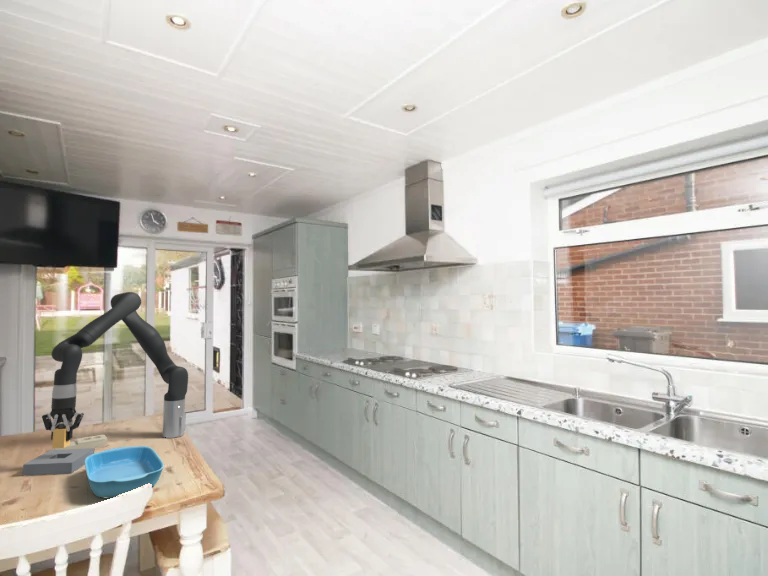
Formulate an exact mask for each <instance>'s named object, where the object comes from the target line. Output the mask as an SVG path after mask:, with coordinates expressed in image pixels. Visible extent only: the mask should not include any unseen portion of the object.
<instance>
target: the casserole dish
mask: <svg viewBox="0 0 768 576" xmlns="http://www.w3.org/2000/svg"><path fill="white" fill-rule="evenodd" d="M164 465H165V464H164V461H163V460H162V458H161V457H160V456H159V454H158V453H157V452H156V450H155V449H153V448H152V447H150V446H147V445H142V446H140V445H138V446H121V447H120V446H119V447H115V448H114V447H113V448H109V449H106V450H103V451H100V452H94V454H92V455H89V456H88V457H87V458H86V459H85V465H84V467H85V473H86V477H87V480H88V483H89V488H90V490H91V491H92V493H93V494H94V495H95V496H97V497H98V498H100V497H109V498H108V499H112V498H115V497H114V496H117V495H119V494H122V493H125V492H128V491H131V490H133V489H136V488H138V487H141V486H143V485H145V484H148V483H150V484H152V486H153V487H154V486H155V485H156V484H157V483H158V482H159V479H160V476H161V475H162V472H163V469H164V467H165V466H164ZM111 497H112V498H111ZM117 497H118V496H117Z"/></svg>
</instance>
